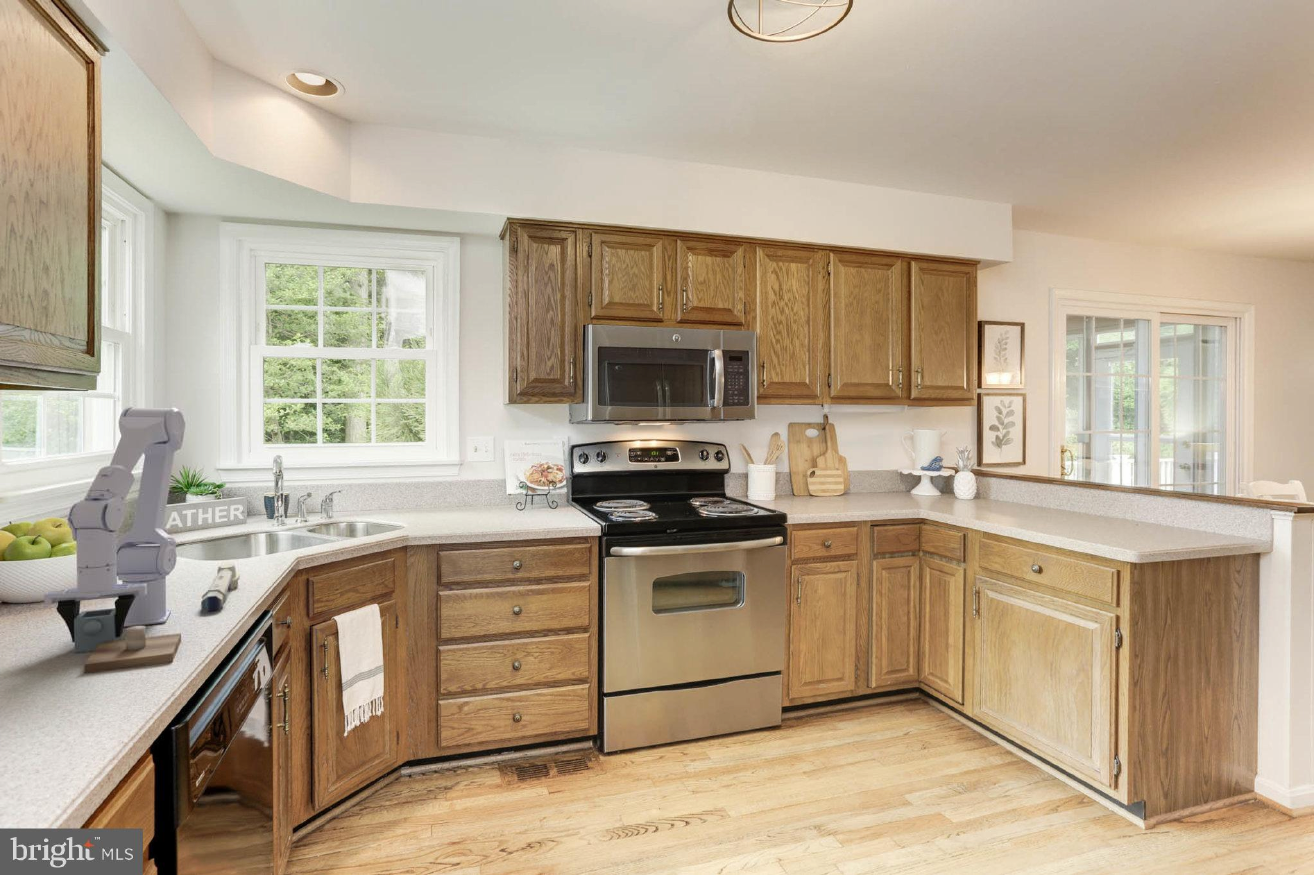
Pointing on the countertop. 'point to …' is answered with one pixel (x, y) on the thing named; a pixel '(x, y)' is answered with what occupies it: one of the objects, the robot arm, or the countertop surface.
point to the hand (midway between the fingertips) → (97, 638)
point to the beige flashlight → (220, 587)
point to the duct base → (133, 651)
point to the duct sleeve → (94, 629)
